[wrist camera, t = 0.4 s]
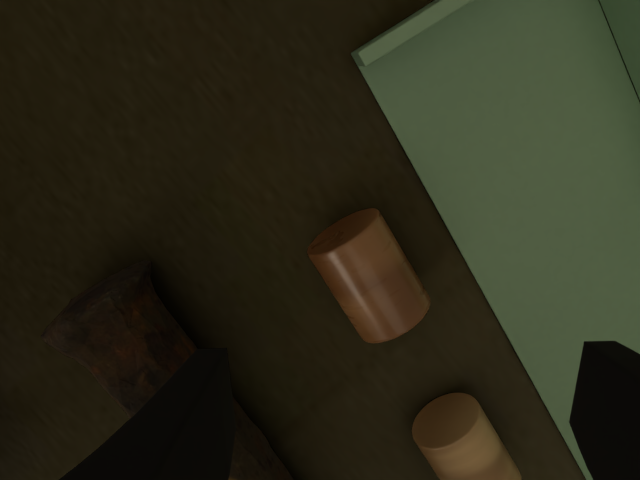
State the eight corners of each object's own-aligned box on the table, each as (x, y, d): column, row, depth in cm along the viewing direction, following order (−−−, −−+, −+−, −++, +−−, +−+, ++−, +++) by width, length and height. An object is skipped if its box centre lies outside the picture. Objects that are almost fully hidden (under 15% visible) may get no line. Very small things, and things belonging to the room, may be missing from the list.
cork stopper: (355, 321, 22) (368, 356, 20) (303, 241, 21) (309, 265, 18) (418, 283, 22) (442, 312, 19) (370, 200, 21) (386, 218, 18)
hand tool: (68, 290, 22) (6, 349, 18) (152, 244, 21) (109, 293, 17) (304, 598, 27) (301, 702, 23) (376, 568, 27) (388, 669, 22)
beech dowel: (453, 469, 25) (456, 526, 23) (411, 405, 24) (410, 457, 21) (516, 450, 24) (528, 508, 22) (476, 383, 23) (483, 435, 20)
